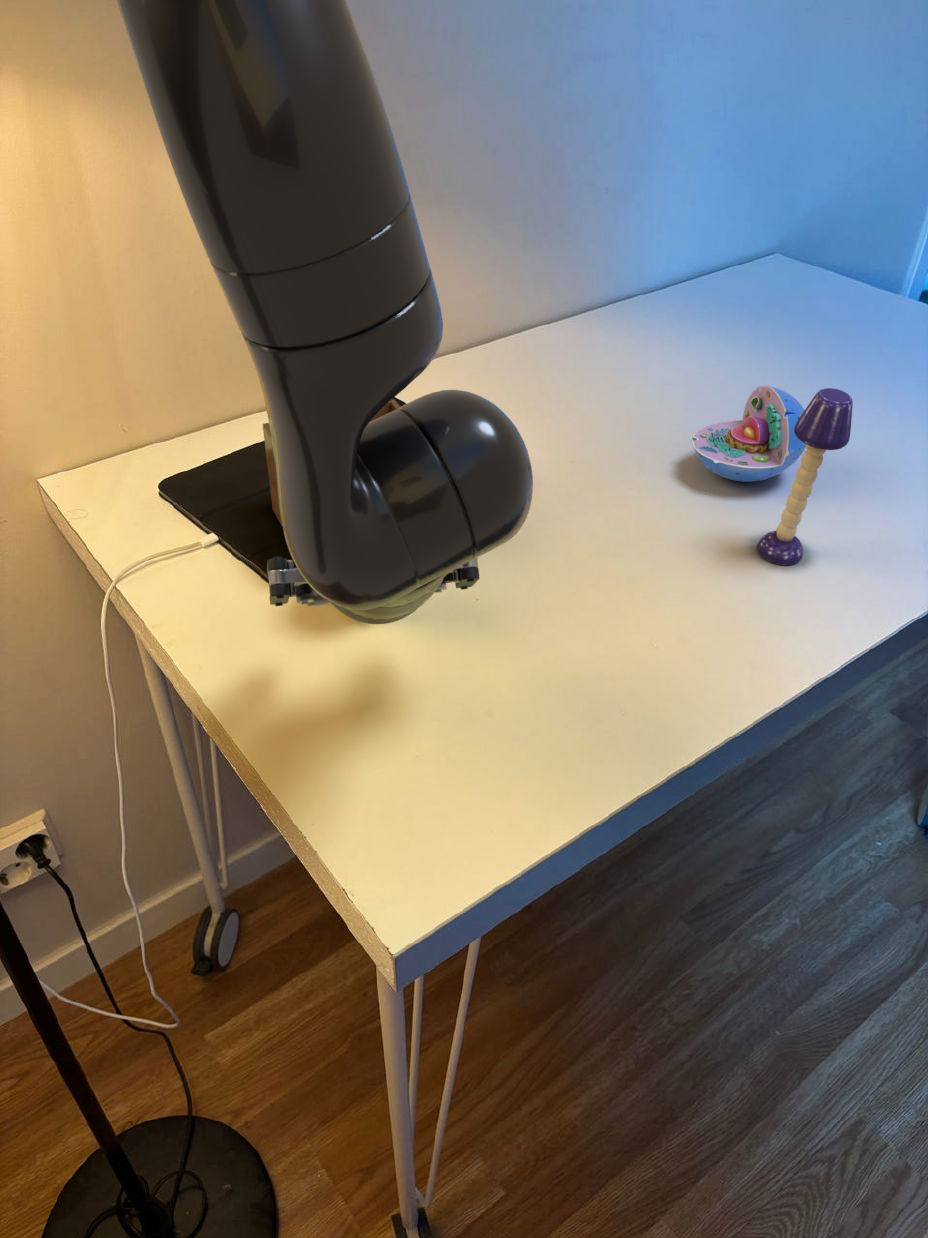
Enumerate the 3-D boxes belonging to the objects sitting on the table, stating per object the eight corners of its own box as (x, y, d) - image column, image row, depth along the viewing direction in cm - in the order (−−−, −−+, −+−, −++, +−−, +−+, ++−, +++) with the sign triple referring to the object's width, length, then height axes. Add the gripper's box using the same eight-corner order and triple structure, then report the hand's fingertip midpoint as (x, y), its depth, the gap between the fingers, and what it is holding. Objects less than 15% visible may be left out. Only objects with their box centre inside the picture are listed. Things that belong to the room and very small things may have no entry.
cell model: (670, 455, 104) (686, 374, 98) (771, 446, 106) (793, 366, 100) (707, 506, 97) (727, 421, 90) (814, 495, 99) (841, 412, 93)
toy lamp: (797, 538, 93) (848, 380, 82) (816, 567, 89) (872, 407, 78) (750, 540, 92) (795, 382, 81) (767, 569, 89) (816, 408, 78)
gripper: (493, 484, 57) (455, 529, 73) (252, 501, 55) (267, 544, 71) (506, 607, 57) (465, 626, 73) (264, 630, 55) (276, 644, 71)
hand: (367, 586), depth 72 cm, fingers open, 8 cm apart
